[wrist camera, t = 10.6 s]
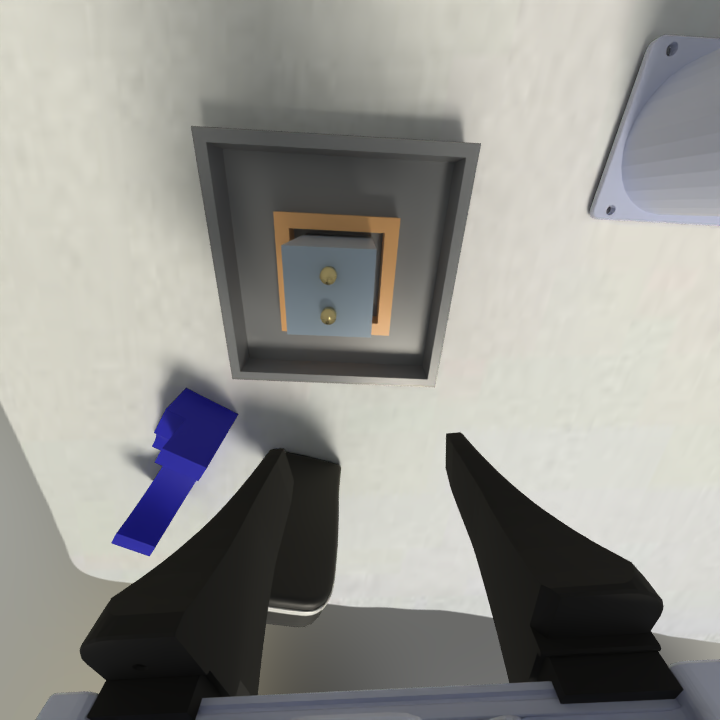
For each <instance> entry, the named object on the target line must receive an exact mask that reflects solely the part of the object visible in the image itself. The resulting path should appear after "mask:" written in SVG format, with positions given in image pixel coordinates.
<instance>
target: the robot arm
mask: <svg viewBox="0 0 720 720" xmlns="http://www.w3.org/2000/svg"><path fill="white" fill-rule="evenodd" d="M668 46H670V49H671V51H670V54H669V56H667V54H666V50H667V47H668ZM609 206H610V207H611V210H610V212H609V213H608V214H607V213H606V210H607V208H608V207H609ZM590 216H591V217H592V218H594V219H605V220H623V221H641V222H659V223H678V224H696V225H714V226H720V38H707V37H692V36H678V35H662V36H660V37H659V38H657V39H655V40H654V41H652V42H651V43H650V45H649V46H648V48H647V50H646V52H645V55H644V58H643V61H642V64H641V66H640V69H639V72H638V75H637V78H636V81H635V83H634V86H633V89H632V92H631V95H630V98H629V100H628V103H627V106H626V109H625V112H624V115H623V118H622V120H621V123H620V126H619V129H618V132H617V135H616V137H615V140H614V143H613V146H612V149H611V152H610V154H609V157H608V160H607V163H606V166H605V169H604V172H603V174H602V177H601V180H600V183H599V186H598V189H597V191H596V194H595V197H594V200H593V203H592V206H591V208H590ZM446 471H447V475H448V479H449V483H450V487H451V490H452V493H453V496H454V498H455V501H456V504H457V506H458V509H459V511H460V514H461V517H462V519H463V522H464V524H465V527H466V530H467V532H468V535H469V537H470V540H471V543H472V546H473V548H474V551H475V554H476V558H477V561H478V565H479V568H480V572H481V575H482V579H483V582H484V586H485V590H486V593H487V597H488V601H489V604H490V608H491V612H492V616H493V619H494V623H495V627H496V631H497V635H498V639H499V642H500V646H501V651H502V655H503V659H504V663H505V667H506V671H507V675H508V679H509V683H503V684H484V685H483V684H482V685H462V686H441V687H421V688H400V689H380V690H358V691H338V692H317V693H297V694H276V695H258V686H259V677H260V668H261V658H262V650H263V642H264V635H265V627H266V620H267V613H268V606H269V600H270V593H271V587H272V581H273V575H274V569H275V564H276V560H277V555H278V552H279V548H280V544H281V540H282V536H283V533H284V529H285V525H286V521H287V517H288V513H289V510H290V506H291V500H292V493H293V485H294V479H293V476H292V472H291V469H290V466H289V463H288V459H287V456H286V453H285V449H284V448H283V449H272V450H270V451H269V453H268V454H267V455H266V456H265V458H264V459H263V460H262V461H261V463H260V464H259V465H258V467H257V468H256V469H255V470H254V472H253V473H252V474H251V476H250V477H249V478H248V479H247V480H246V482H245V483H244V484H243V485H242V487H241V488H240V489H239V490H238V491H237V492H236V494H235V495H234V496H233V497H232V498H231V499H230V500H229V501H228V503H227V504H226V505H225V506H224V507H223V508H222V509H221V510H220V511H219V512H218V513H217V514H216V515H215V516H214V517H213V518H212V519H211V520H210V521H209V522H208V523H207V524H206V525H205V526H204V527H203V528H202V529H201V530H200V531H199V532H198V533H196V534H195V535H194V536H193V537H192V538H191V539H190V540H188V541H187V542H186V543H185V544H184V545H183V546H182V547H180V548H179V549H178V550H177V551H176V552H174V553H173V554H172V555H171V556H169V557H168V558H167V559H166V560H164V561H163V562H162V563H160V564H159V565H158V566H156V567H155V568H154V569H153V570H151V571H150V572H148V573H147V574H146V575H144V576H143V577H142V578H140V579H139V580H137V581H136V582H134V583H133V584H131V585H130V586H129V587H127V588H126V589H124V590H123V591H121V592H120V593H119V594H117V595H115V596H114V597H112V598H111V600H110V602H109V603H108V604H107V606H106V607H105V609H104V610H103V612H102V614H101V615H100V617H99V618H98V620H97V621H96V623H95V625H94V626H93V628H92V629H91V631H90V632H89V634H88V636H87V637H86V639H85V640H84V642H83V643H82V645H81V648H80V654H81V658H82V659H83V660H84V662H85V663H86V664H87V665H89V666H90V667H91V668H92V669H93V670H95V671H96V672H97V673H98V674H99V675H101V676H102V677H103V678H104V679H106V682H105V684H104V686H103V688H102V689H101V691H100V693H99V694H97V693H93V692H66V693H54V694H53V695H51V696H50V697H49V699H48V701H47V702H46V704H45V705H44V707H43V708H42V710H41V712H40V713H39V715H38V716H37V718H36V719H35V720H720V659H717V660H696V661H681V662H676V663H673V664H670V665H669V666H667V664H666V663H665V661H664V660H663V658H662V657H661V655H660V654H659V652H658V651H660V650H661V647H660V644H659V643H658V641H657V640H656V638H655V637H654V635H653V634H652V632H651V630H652V628H653V626H654V625H655V623H656V622H657V620H658V619H659V617H660V616H661V613H662V611H663V601H662V599H661V598H660V597H659V595H658V594H657V593H656V591H655V590H654V589H653V587H652V586H651V585H650V583H649V582H648V581H647V580H646V578H645V577H644V576H643V575H642V574H641V573H640V572H639V570H638V569H637V568H636V567H635V566H634V565H633V564H632V562H630V561H628V560H626V559H624V558H622V557H620V556H619V555H617V554H615V553H613V552H611V551H609V550H607V549H606V548H604V547H602V546H600V545H598V544H596V543H595V542H593V541H591V540H590V539H588V538H586V537H585V536H583V535H581V534H580V533H578V532H576V531H575V530H573V529H571V528H570V527H568V526H567V525H565V524H564V523H562V522H561V521H559V520H558V519H556V518H555V517H553V516H552V515H550V514H549V513H548V512H546V511H545V510H543V509H542V508H541V507H539V506H538V505H537V504H535V503H534V502H533V501H531V500H530V499H529V498H528V497H526V496H525V495H524V494H523V493H521V492H520V491H519V490H518V489H517V488H515V487H514V486H513V485H512V484H511V483H510V482H509V481H507V480H506V479H505V478H504V477H503V476H502V475H501V474H500V473H499V472H498V471H497V470H496V469H495V468H494V467H493V466H492V465H491V464H490V463H489V462H488V461H487V460H486V459H485V458H484V457H483V456H482V455H481V454H480V453H479V452H478V451H477V450H476V449H475V448H474V447H473V445H472V444H471V443H470V442H469V441H468V440H467V439H466V437H465V436H464V435H463V434H462V433H461V432H459V433H448V434H446Z"/></svg>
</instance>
